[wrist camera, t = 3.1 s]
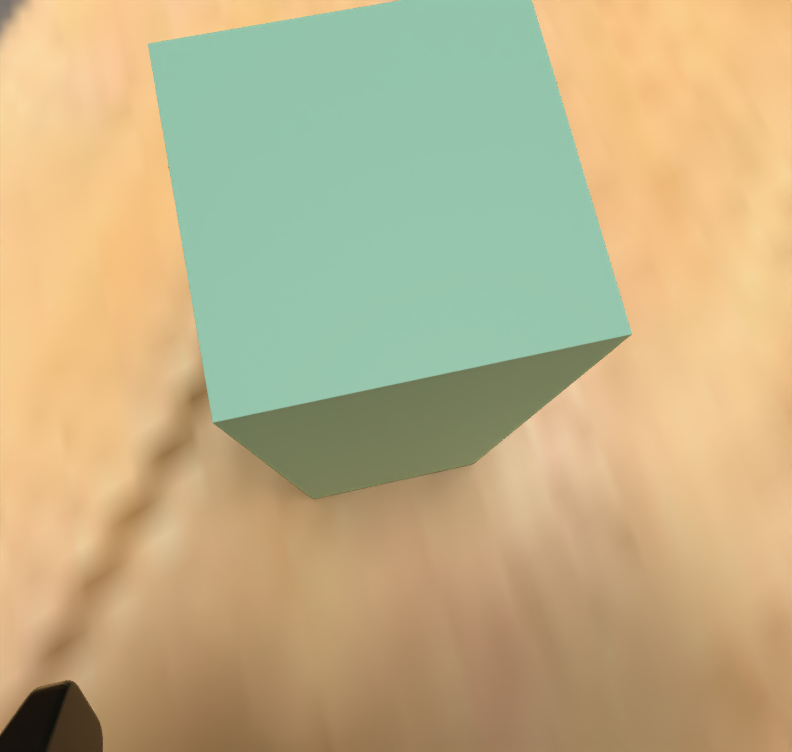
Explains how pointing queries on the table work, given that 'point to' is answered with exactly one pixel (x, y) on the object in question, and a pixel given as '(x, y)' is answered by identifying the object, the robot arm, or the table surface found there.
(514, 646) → the table surface
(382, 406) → the green block
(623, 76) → the table surface
